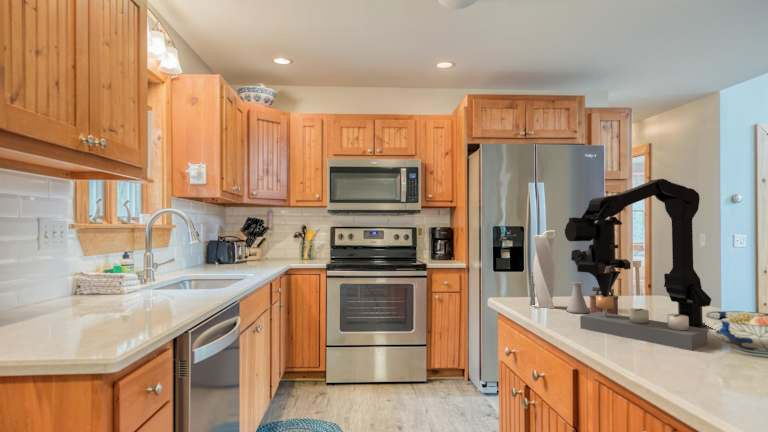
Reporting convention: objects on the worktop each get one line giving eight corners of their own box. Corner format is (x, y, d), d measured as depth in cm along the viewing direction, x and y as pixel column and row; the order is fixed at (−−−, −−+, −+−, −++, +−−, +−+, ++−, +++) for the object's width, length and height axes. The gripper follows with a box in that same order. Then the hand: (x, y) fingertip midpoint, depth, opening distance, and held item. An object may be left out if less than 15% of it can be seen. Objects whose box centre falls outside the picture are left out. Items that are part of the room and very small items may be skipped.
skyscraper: (553, 305, 156) (551, 230, 156) (560, 310, 148) (558, 230, 148) (529, 305, 156) (528, 230, 157) (535, 309, 148) (534, 230, 149)
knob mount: (598, 323, 126) (598, 311, 126) (707, 343, 104) (707, 329, 104) (580, 328, 120) (580, 315, 120) (691, 350, 98) (691, 335, 98)
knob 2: (671, 338, 108) (671, 312, 108) (692, 342, 104) (691, 315, 104) (664, 341, 105) (663, 314, 105) (685, 345, 101) (684, 317, 102)
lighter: (619, 319, 131) (618, 287, 131) (618, 321, 128) (617, 288, 128) (590, 316, 135) (589, 285, 135) (589, 318, 132) (588, 286, 132)
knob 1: (601, 317, 122) (600, 294, 122) (617, 320, 119) (616, 296, 119) (593, 319, 120) (592, 295, 120) (609, 322, 116) (608, 297, 116)
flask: (592, 314, 138) (591, 284, 139) (568, 313, 140) (568, 283, 140) (586, 310, 146) (585, 281, 146) (563, 309, 147) (563, 281, 147)
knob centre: (634, 331, 115) (634, 307, 115) (652, 335, 111) (651, 309, 111) (626, 334, 112) (626, 309, 113) (644, 337, 109) (644, 311, 109)
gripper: (593, 239, 132) (594, 289, 131) (558, 241, 121) (560, 295, 121) (630, 240, 123) (632, 294, 122) (597, 242, 112) (598, 301, 112)
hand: (604, 296), depth 119 cm, fingers closed, pressing on knob 1
